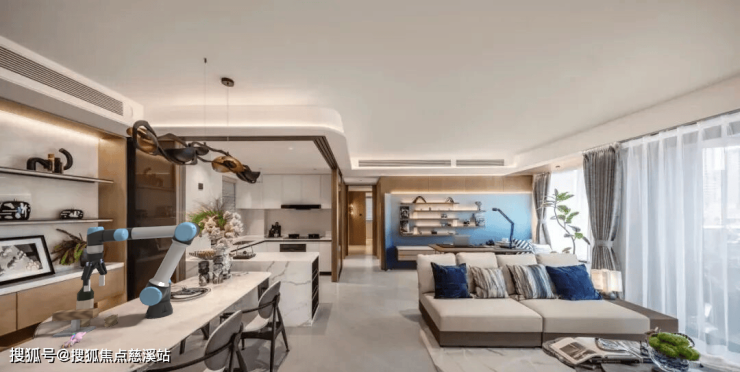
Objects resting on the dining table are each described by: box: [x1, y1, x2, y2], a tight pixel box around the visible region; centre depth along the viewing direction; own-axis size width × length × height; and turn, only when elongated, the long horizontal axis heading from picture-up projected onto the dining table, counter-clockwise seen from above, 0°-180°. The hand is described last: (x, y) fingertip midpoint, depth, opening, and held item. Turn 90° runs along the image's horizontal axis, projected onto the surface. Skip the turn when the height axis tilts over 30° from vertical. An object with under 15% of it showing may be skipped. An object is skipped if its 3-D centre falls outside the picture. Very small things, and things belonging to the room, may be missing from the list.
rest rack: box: [80, 313, 119, 328], centre depth 188 cm, size 18×7×5 cm, turn 100°
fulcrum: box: [52, 319, 97, 338], centre depth 177 cm, size 14×11×8 cm
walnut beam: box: [51, 307, 100, 322], centre depth 178 cm, size 20×5×4 cm, turn 100°
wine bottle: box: [75, 277, 95, 309], centre depth 202 cm, size 8×8×30 cm
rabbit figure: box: [61, 332, 87, 349], centre depth 162 cm, size 6×6×15 cm
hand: (94, 288), depth 186 cm, fingers open, 13 cm apart
